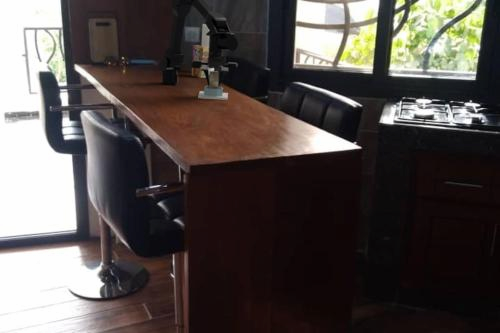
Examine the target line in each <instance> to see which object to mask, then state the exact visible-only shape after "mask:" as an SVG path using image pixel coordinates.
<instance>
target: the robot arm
mask: <svg viewBox="0 0 500 333" xmlns="http://www.w3.org/2000/svg"><path fill="white" fill-rule="evenodd" d="M192 7H194V9H195V10H196V11H197V12H198V13H199V14H200V15H201V17H203V19H204V24H206V26H207V27H208V29H209V30H210V31H209V32H208V33H207V34H206V35H207V36H209V54H208V63H207V62H202V60H193V61H191V69H192V68H200V67H201V71H204V74H205V76H206V78H205V79H206V82H207V86H209V75H210V74H209V68H214V69H217V70H219V69H220V72H219V84H218V87H221V83H222V80H223V79H224V76H225V75H226V73H229V71H231V72H237V71H238V67H239V66H238V65H239V64H238V63H237V62H233V61H232V62H231V61H228V62H227V63H226V59H227V58H226V56H223V51H224V50H225V51H229V52H234V51H236V50H237V48H238V46H239V42H238V39H237V38H236V37H235V33H234V32H233V33H232V32H231V29H230V26H229V24H228V20H227V18H226V16H223V15H222V14H221V13H218V12H216V11H214V9H213V8H212V7H211V6H210V5H209V4H208V3H207V2H206V1H205V0H171V11H172V13H173V20H172V28H171V29H172V30H171V33H170V41H169V47H168V48H167V49H166V50H165V51H164V54H163V58H162V59H161V61H160V63H159V64H158V70H159V71H162V78H161V80H162V82H161V85H169V86H170V85H172V86H176V85H177V84H178V83H179V73H178V71H179V72H180V71H181V69H182V67H183V66H182V65H183V64H184V57H185V55H184V54H183V53H182V50H181V47H182V43H183V42H182V41H183V36H184V29H185V25H186V24H185V23H186V18H187V16H188V15H189V14H190V13H191V10H192Z"/></svg>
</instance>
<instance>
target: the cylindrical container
mask: <svg viewBox="0 0 500 333" xmlns="http://www.w3.org/2000/svg"><path fill="white" fill-rule="evenodd" d="M201 29H202V30H201V46H204V47H209V36H207V35H206V34H207V33H208V32H209V31H210V30H209V29H208V27H207V26H206V24H205V23H203V24H202V28H201ZM210 71H215V68H209V75H210Z"/></svg>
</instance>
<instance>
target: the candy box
mask: <svg viewBox="0 0 500 333" xmlns="http://www.w3.org/2000/svg"><path fill="white" fill-rule="evenodd" d="M208 54H209V47H204V46H202V45H198V44H195V45H193V46H192V61H193V60H202V62H207V63H208ZM192 61H191V62H192ZM191 76H192V77H196V78H200V79H206V76H205V74H204V71H201V67H200V68H192V67H191Z"/></svg>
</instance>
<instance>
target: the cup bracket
mask: <svg viewBox="0 0 500 333" xmlns="http://www.w3.org/2000/svg"><path fill="white" fill-rule="evenodd" d="M203 87H204V88H203V90H200V91H199V92H198V95H197V98H198V99H204V100H205V99H206V100H207V99H208V100H219V101H221V100H222V101H228V99H229V98H228V97H229V96H228V95H229V93H228V92H224V91H223V89H224V87H222V86H219V88H218V89H210V88H209V86H208V85H205V86H203Z"/></svg>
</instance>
